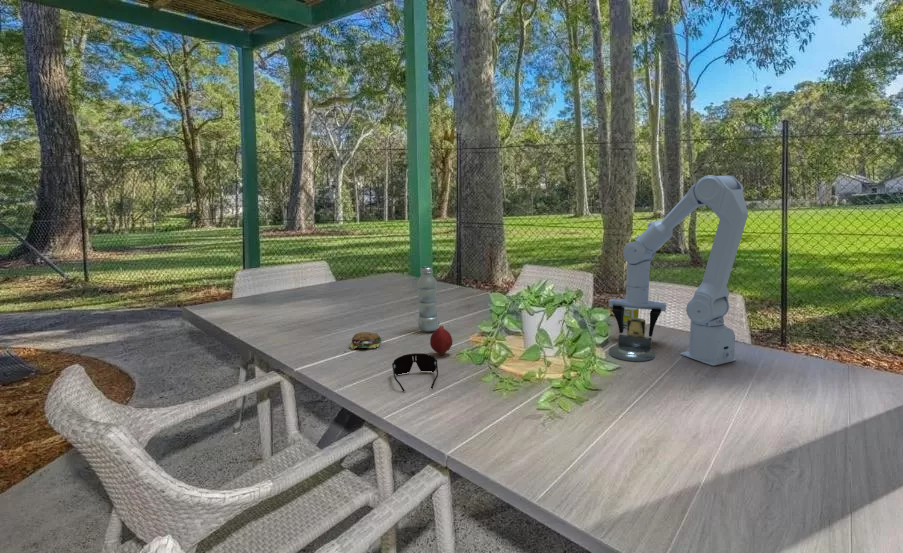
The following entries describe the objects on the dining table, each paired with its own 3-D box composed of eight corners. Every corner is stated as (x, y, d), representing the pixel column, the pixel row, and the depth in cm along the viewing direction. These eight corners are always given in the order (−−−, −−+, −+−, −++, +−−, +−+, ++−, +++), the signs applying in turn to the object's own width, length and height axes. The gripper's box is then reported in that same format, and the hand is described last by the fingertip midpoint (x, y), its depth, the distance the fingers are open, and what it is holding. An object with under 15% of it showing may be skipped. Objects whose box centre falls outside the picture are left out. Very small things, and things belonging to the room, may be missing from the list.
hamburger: (341, 342, 145) (340, 322, 144) (389, 340, 145) (387, 321, 144) (331, 358, 131) (329, 336, 130) (383, 356, 131) (382, 334, 130)
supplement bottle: (635, 324, 152) (636, 298, 150) (640, 328, 147) (640, 301, 146) (619, 324, 152) (620, 298, 151) (623, 328, 148) (624, 301, 146)
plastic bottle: (414, 333, 150) (411, 268, 147) (424, 327, 156) (421, 265, 153) (433, 334, 148) (431, 269, 144) (442, 328, 154) (440, 265, 150)
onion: (436, 359, 125) (435, 329, 124) (427, 353, 130) (425, 324, 129) (456, 355, 128) (455, 326, 127) (446, 349, 133) (445, 321, 132)
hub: (648, 342, 134) (649, 320, 133) (635, 344, 132) (636, 322, 131) (636, 337, 138) (636, 316, 137) (623, 340, 137) (624, 319, 136)
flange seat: (613, 345, 132) (613, 333, 131) (657, 350, 127) (657, 338, 126) (604, 358, 123) (605, 345, 122) (651, 364, 117) (652, 351, 117)
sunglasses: (436, 370, 118) (436, 351, 117) (442, 396, 107) (441, 376, 105) (392, 373, 117) (391, 354, 115) (393, 400, 106) (392, 379, 104)
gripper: (668, 284, 133) (665, 333, 135) (613, 281, 140) (611, 327, 142) (665, 289, 127) (663, 340, 129) (607, 285, 134) (606, 333, 136)
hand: (635, 333), depth 135 cm, fingers open, 7 cm apart
